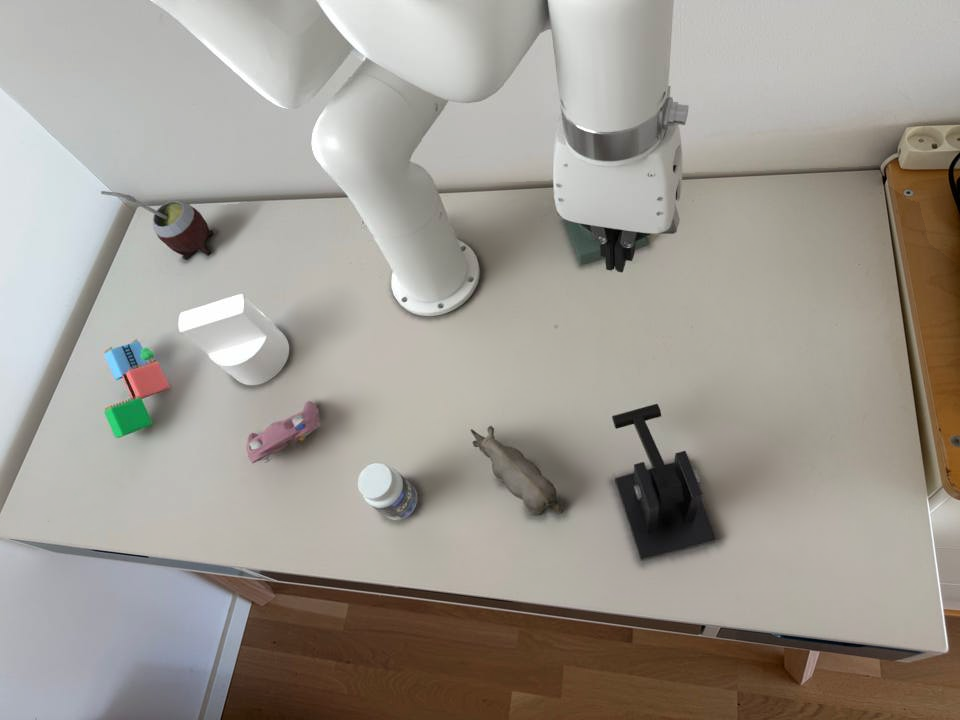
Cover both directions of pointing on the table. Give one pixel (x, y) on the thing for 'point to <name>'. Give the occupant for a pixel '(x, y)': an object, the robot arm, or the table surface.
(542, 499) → the rhino figurine
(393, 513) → the pill bottle
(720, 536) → the table surface
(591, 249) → the button block
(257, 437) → the pink toy car
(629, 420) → the lever
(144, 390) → the building blocks
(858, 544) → the table surface
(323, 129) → the robot arm
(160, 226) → the mate gourd
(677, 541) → the bracket
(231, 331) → the white rounded block
